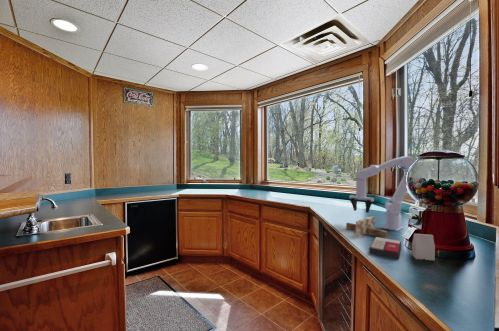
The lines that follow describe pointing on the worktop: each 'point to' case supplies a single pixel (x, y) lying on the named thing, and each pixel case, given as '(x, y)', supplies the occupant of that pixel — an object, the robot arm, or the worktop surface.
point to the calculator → (386, 248)
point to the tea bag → (423, 247)
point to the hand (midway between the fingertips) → (361, 211)
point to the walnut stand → (368, 230)
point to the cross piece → (364, 225)
